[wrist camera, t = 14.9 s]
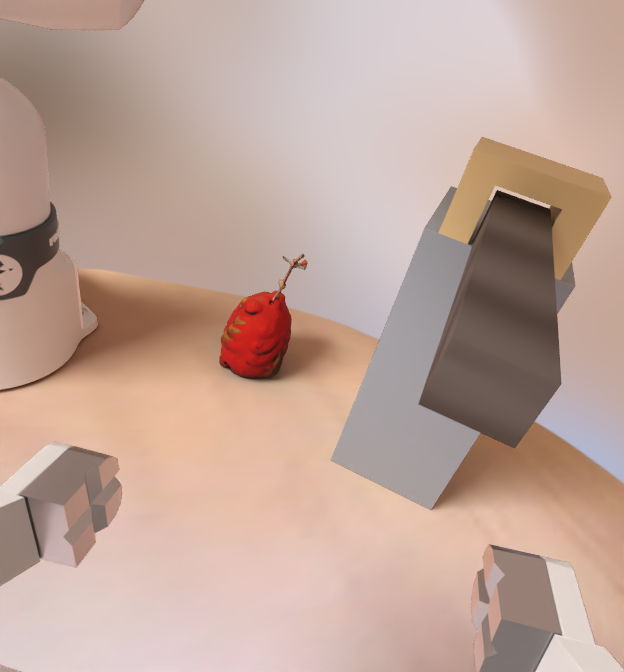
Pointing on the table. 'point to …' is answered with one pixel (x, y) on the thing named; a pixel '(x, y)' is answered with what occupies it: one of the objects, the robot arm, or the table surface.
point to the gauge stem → (501, 327)
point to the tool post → (432, 313)
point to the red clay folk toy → (258, 332)
